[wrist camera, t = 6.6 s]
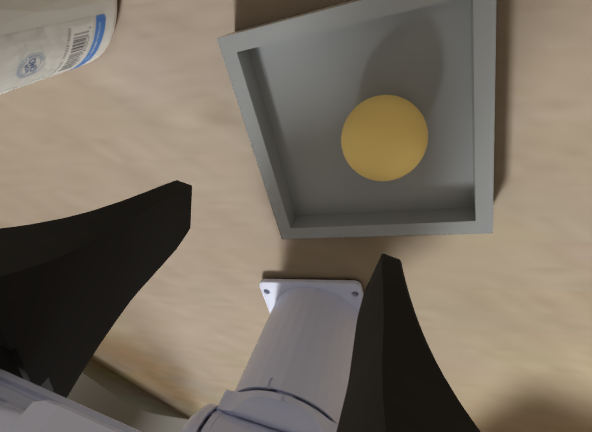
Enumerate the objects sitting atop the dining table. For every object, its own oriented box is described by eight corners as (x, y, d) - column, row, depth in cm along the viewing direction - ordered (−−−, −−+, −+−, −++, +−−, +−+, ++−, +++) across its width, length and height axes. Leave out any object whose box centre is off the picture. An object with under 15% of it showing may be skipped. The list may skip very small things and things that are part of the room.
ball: (401, 153, 21) (449, 175, 18) (336, 177, 20) (372, 205, 17) (393, 79, 19) (444, 88, 16) (321, 104, 18) (358, 118, 15)
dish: (488, 212, 21) (492, 233, 20) (291, 221, 26) (281, 239, 24) (490, -37, 15) (497, -36, 14) (234, 31, 20) (217, 38, 18)
